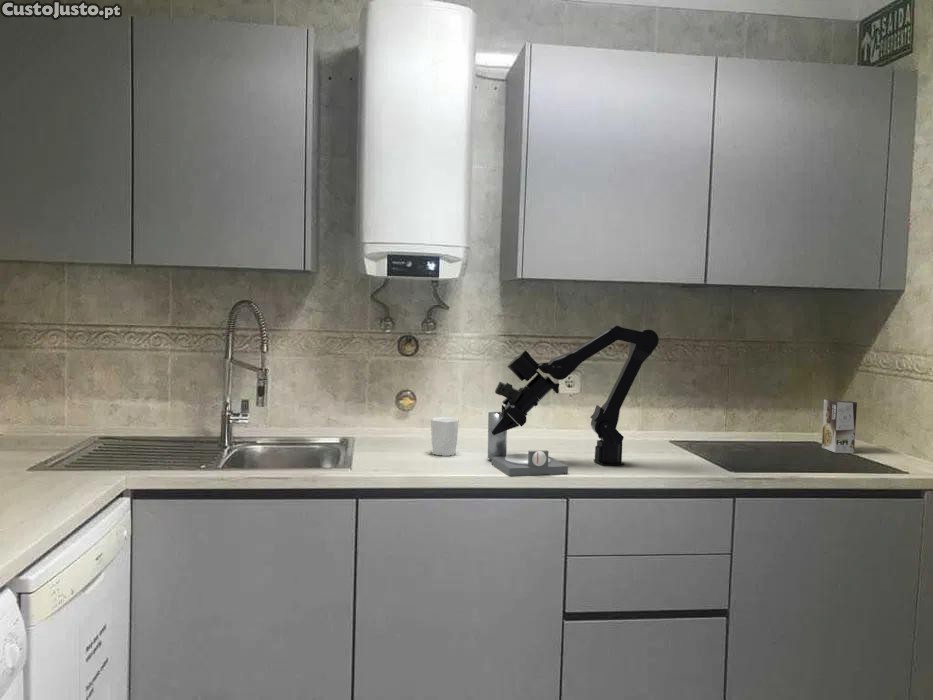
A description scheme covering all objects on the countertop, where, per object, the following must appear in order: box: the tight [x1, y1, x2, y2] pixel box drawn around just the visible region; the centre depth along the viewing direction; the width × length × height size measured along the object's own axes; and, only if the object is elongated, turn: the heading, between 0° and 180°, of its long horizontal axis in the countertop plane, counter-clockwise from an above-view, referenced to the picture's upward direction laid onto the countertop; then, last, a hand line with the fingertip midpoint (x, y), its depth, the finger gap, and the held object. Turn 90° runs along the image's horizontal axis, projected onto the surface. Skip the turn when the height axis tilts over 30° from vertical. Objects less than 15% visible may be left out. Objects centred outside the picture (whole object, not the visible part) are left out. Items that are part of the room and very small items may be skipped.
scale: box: [491, 449, 569, 477], centre depth 192 cm, size 16×14×6 cm
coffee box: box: [821, 398, 858, 454], centre depth 232 cm, size 9×6×16 cm
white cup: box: [430, 416, 460, 457], centre depth 209 cm, size 8×8×10 cm
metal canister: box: [487, 411, 508, 460], centre depth 202 cm, size 5×5×13 cm
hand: (492, 432), depth 202 cm, fingers closed on metal canister, 5 cm apart
